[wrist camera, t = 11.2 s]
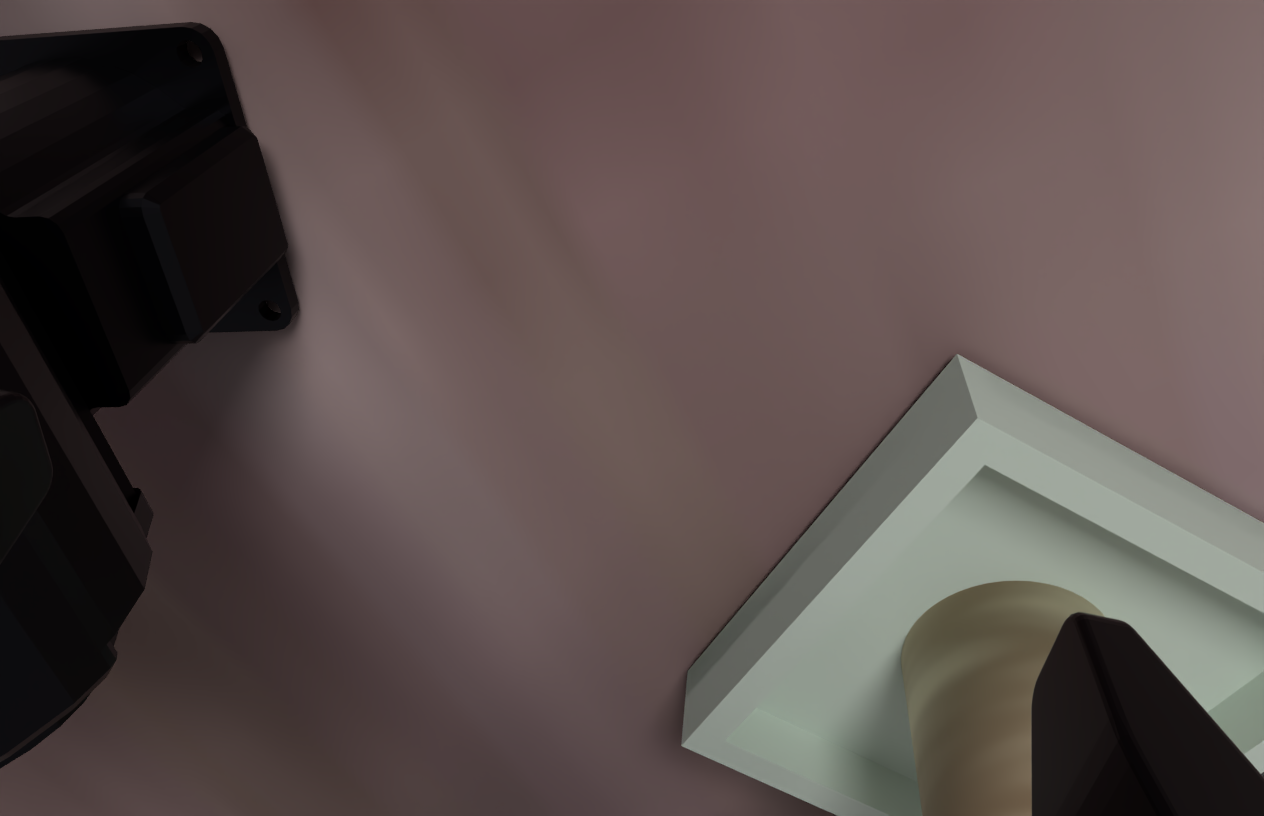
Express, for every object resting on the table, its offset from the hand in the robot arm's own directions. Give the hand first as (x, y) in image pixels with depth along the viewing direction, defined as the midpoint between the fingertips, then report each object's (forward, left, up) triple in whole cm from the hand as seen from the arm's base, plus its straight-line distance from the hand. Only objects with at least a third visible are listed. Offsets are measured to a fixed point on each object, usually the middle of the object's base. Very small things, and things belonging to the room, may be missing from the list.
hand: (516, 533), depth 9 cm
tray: (+8, -14, -13) cm, 20 cm away
